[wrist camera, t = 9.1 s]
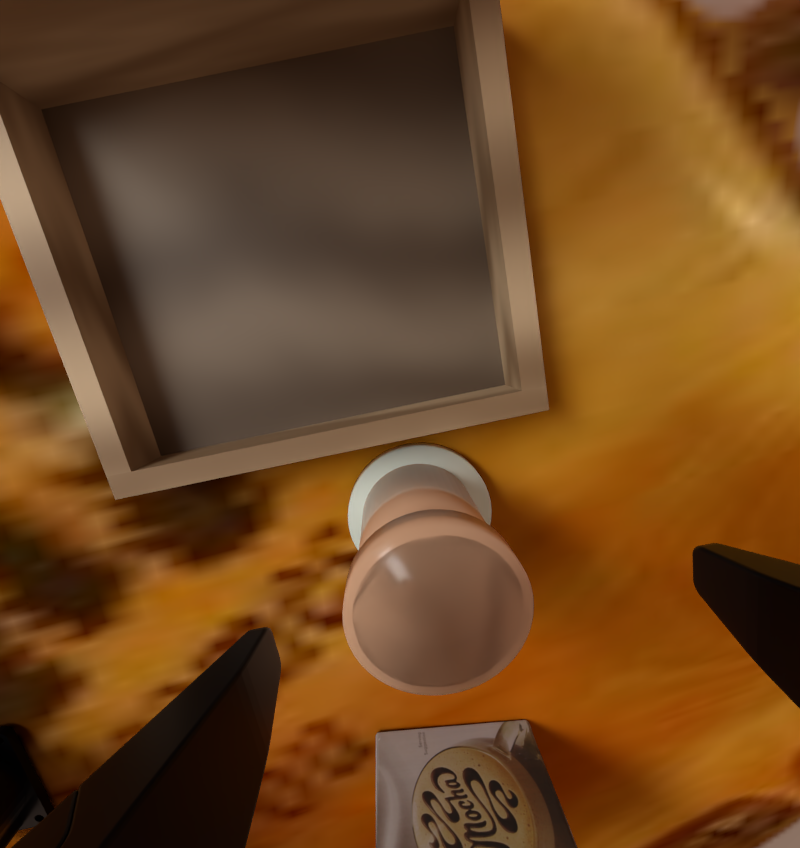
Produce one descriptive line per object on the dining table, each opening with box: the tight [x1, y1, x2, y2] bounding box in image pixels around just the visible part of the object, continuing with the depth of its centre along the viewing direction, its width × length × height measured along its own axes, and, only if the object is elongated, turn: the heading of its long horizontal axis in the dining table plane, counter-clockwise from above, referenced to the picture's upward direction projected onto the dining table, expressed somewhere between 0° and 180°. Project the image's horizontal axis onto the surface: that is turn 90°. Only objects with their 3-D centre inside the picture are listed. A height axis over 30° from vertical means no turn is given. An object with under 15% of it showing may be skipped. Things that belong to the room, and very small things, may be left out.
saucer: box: [348, 443, 492, 550], centre depth 20 cm, size 7×7×1 cm
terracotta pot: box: [343, 464, 534, 695], centre depth 16 cm, size 6×6×7 cm
